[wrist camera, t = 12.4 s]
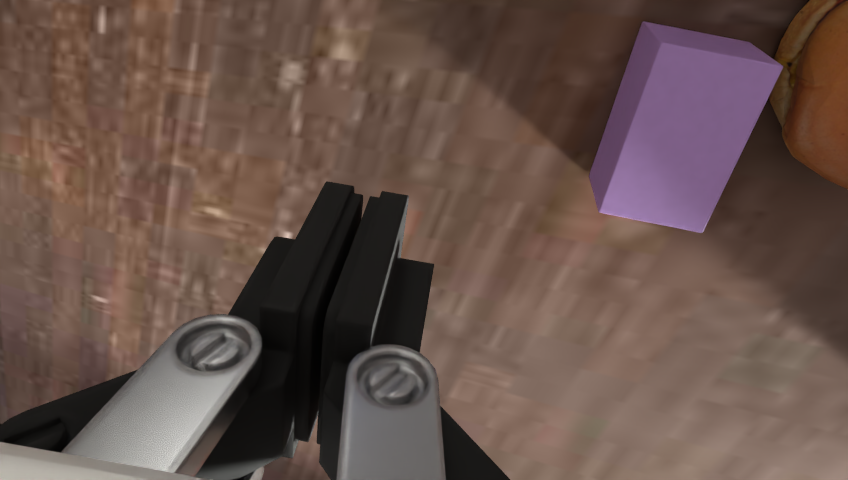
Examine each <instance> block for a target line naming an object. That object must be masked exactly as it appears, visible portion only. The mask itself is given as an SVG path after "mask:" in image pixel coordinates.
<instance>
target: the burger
mask: <svg viewBox="0 0 848 480" xmlns="http://www.w3.org/2000/svg"><path fill="white" fill-rule="evenodd" d="M774 60H775V61H777V62H778V63H779V64H781V65H782V66H783V69H782V71H781V73H780V75H779V77H778V79H777V81H776V83H775V85H774V87H773V89H772V91H771V93H770V95H769V100H770V103H771V105H772V107H773V110H774V112H775V114H776V116H777V118H778V120H779V122H780V125H781V127H782V136H783V139H784V142H785V144H786V146H787V148H788V149H789V151H790V153H791V155H792V156H793V157H794V158H795V159H797V160H798V161H800V162H801V163H803V164H804V165H806V166H807V167H808V168H810V169H812V170H813V171H815V172H816V173H818V174H819V175H821V176H822V177H824V178H825V179H827V180H829V181H831V182H833V183H835V184H837V185H840V186H842V187H845V188H846V189H848V0H810V1H809V2H808V3H807V4H806V5H805V6H804V7H803V8H802V9H801V10H800V11H799V13H798V14H797V15H796V16H795V18H794V19H793V21H792V22H791V23H790V24H789V26H788V28H787V30H786V32H785V34H784V37H783V38H782V39H781V42H780V45H779V47H778V50H777V52H776V54H775V57H774Z"/></svg>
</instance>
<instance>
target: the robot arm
mask: <svg viewBox="0 0 848 480" xmlns="http://www.w3.org/2000/svg"><path fill="white" fill-rule="evenodd" d="M408 198H409V196H407V195H402V194H396V193H390V192H385V191H382V192H381V195H380V198H378V197H372V196H370V198H369V201H368V204H367V206H366V209H365V211H364V214H363V217H362V206H363V195H361V194H355V193H354V186H350V185H344V184H339V183H333V182H326V183H325V184H324V186H323V188H322V190H321V192H320V194H319V196H318V198H317V199H316V201H315V203H314V205H313V207H312V209H311V211H310V213H309V215H308V216H307V218H306V220H305V222H304V224H303V226H302V228H301V230H300V232H299V233H298V235H297V237H296V239H295V240H294V239H289V238H283V237H274V239H273V240H272V241H271V243H270V244H269V246H268V248H267V249H266V251H265V253H264V255H263V256H262V258H261V260H260V261H259V263H258V265H257V266H256V268H255V270H254V272H253V273H252V275H251V277H250V278H249V280H248V282H247V283H246V285H245V287H244V289H243V290H242V292H241V294H240V295H239V297H238V299H237V300H236V302H235V304H234V305H233V307H232V309H231V311H230V312H229V314H228V315H227V314H216V315H207V316H203V317H199V318H195V319H193V320H191V321H189V322H187V323H185V324H183V325H182V326H180V327H179V328H178V329H177V330H175V331H174V332H173V333H172V334H171V335H170V336H169V337H168V338H167V340H166V341H165V342H164V343H163V344H162V345H161V346H160V347H159V348H158V349H157V350H156V351H155V352H154V353H153V354H152V356H151V357H150V358H149V359H148V360H147V361H146V362H145V363H144V364H143V365H142V366H141V367H140V368H139V369H138V370H136V371H133V372H130V373H128V374H125V375H122V376H120V377H117V378H114V379H111V380H109V381H106V382H103V383H100V384H98V385H95V386H92V387H90V388H87V389H84V390H81V391H79V392H76V393H73V394H71V395H68V396H65V397H62V398H60V399H57V400H54V401H52V402H49V403H46V404H43V405H41V406H38V407H35V408H33V409H30V410H27V411H25V412H23V413H21V414H19V415H17V416H14V417H12V418H10V419H9V420H7V421H6V422H5V423H3V424H0V480H261V479H262V476H263V473H264V465H266V464H268V463H270V462H272V461H274V460H276V459H278V458H280V457H288V458H293V455H294V452H295V450H296V447H297V444H298V441H299V440H300V441H305V442H308V441H309V440H310V437H311V434H312V431H313V428H314V425H315V422H316V419H317V416H318V429H317V444H320V459H319V463H320V465H321V466H322V467H323V469H324V470H325V472H326V473H327V474H328V476H329V477H330V479H331V480H510V479H509V478H508V477H507V476H506V475H505V474H504V473H503V472H502V470H501V469H500V468H499V467H498V466H497V465H496V464H495V463H494V462H493V461H492V460H491V459H490V458H489V457H488V456H487V455H486V454H485V452H484V451H483V450H482V449H481V448H480V447H479V446H478V445H477V444H476V443H475V442H474V441H473V440H472V439H471V438H470V437H469V436H468V435H467V433H466V432H465V431H464V430H463V429H462V428H461V427H460V426H459V425H458V424H457V423H456V422H455V421H454V420H453V419H452V418H451V417H450V415H449V414H448V413H447V412H446V411H445V410H444V409H443V408H442V407H441V406H440V398H439V385H438V377H437V374H436V370H435V368H434V367H433V365H432V364H431V363H430V361H429V360H428V359H427V358H426V357H424V356H423V355H422V354H420V353H419V352H420V346H421V340H422V334H423V328H424V322H425V316H426V310H427V304H428V298H429V292H430V286H431V280H432V274H433V268H434V264H430V263H425V262H419V261H413V260H408V259H402V258H400V257H401V250H402V243H403V236H404V228H405V221H406V214H407V207H408ZM361 217H362V219H361Z"/></svg>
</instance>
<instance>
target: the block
mask: <svg viewBox="0 0 848 480" xmlns="http://www.w3.org/2000/svg"><path fill="white" fill-rule="evenodd" d="M782 69H783V66H782V65H781V64H779V63H778V62H777V61H775V60H774V59H772V58H771V57H770V56H768V55H767V54H765V53H764V52H763V51H761V50H760V49H758V48H757V47H755V46H754V45H753V44H751V43H750V42H747V41H742V40H737V39H731V38H726V37H721V36H716V35H711V34H706V33H701V32H696V31H691V30H686V29H680V28H675V27H670V26H665V25H660V24H655V23H650V22H645V21H644V22H642V24H641V27H640V29H639V32H638V35H637V38H636V41H635V44H634V47H633V50H632V53H631V55H630V58H629V61H628V64H627V67H626V70H625V73H624V76H623V79H622V82H621V84H620V87H619V90H618V93H617V96H616V99H615V102H614V105H613V108H612V110H611V113H610V116H609V119H608V122H607V125H606V128H605V131H604V134H603V136H602V139H601V142H600V145H599V148H598V151H597V154H596V157H595V160H594V162H593V165H592V168H591V171H590V174H589V178H590V182H591V186H592V189H593V193H594V197H595V200H596V204H597V208H598V211H599V212H600V213H605V214H610V215H615V216H620V217H625V218H630V219H635V220H640V221H645V222H650V223H655V224H660V225H665V226H670V227H675V228H680V229H685V230H690V231H695V232H700V233H702V232H703V231H704V229H705V227H706V225H707V223H708V221H709V219H710V217H711V214H712V212H713V210H714V208H715V206H716V204H717V202H718V200H719V198H720V196H721V194H722V192H723V190H724V188H725V186H726V184H727V182H728V180H729V178H730V175H731V173H732V171H733V169H734V167H735V165H736V163H737V161H738V159H739V157H740V155H741V153H742V151H743V149H744V147H745V145H746V143H747V141H748V139H749V136H750V134H751V132H752V130H753V128H754V126H755V124H756V122H757V120H758V118H759V116H760V114H761V112H762V110H763V108H764V106H765V104H766V102H767V100H768V97H769V95H770V93H771V91H772V89H773V87H774V85H775V83H776V81H777V79H778V77H779V75H780V73H781V71H782Z"/></svg>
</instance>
